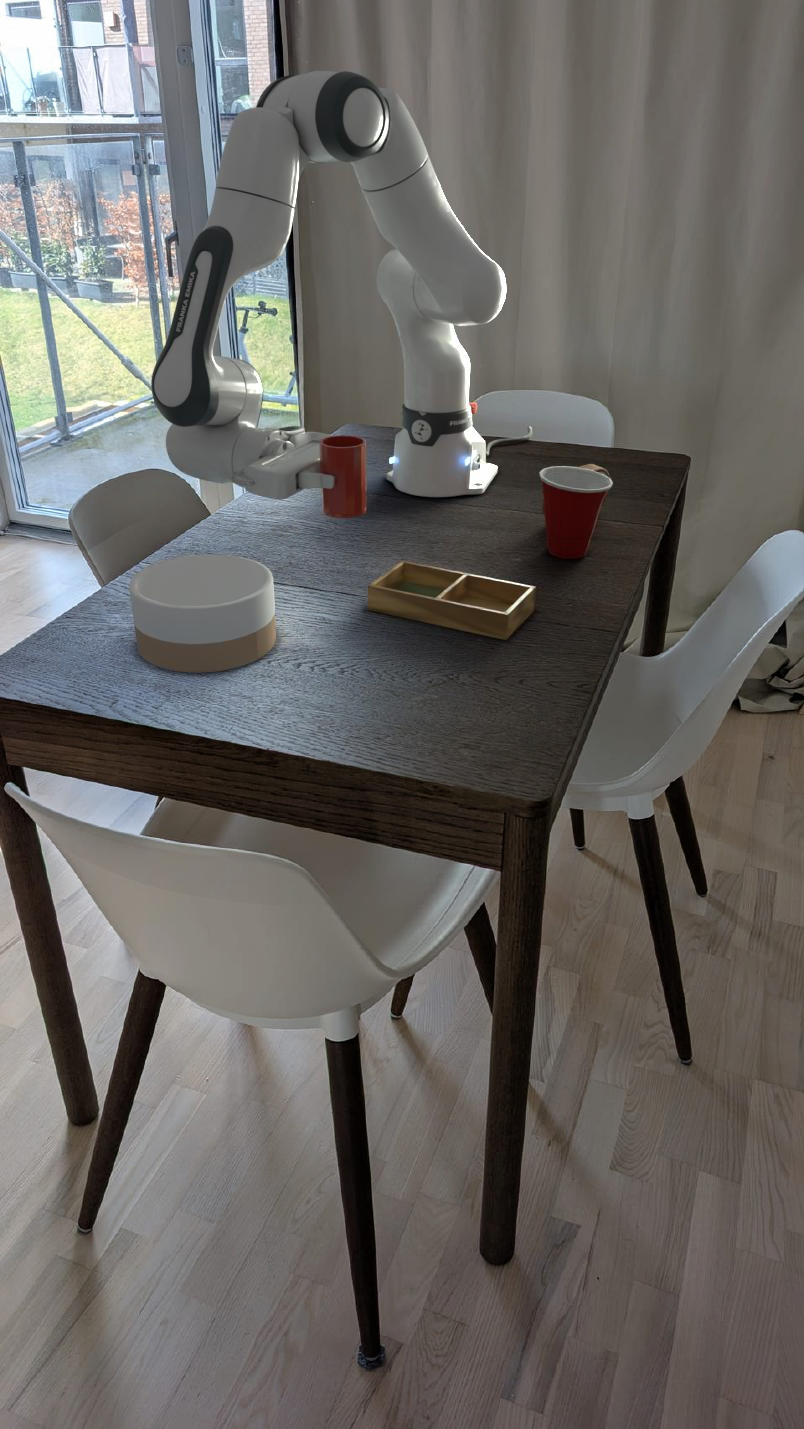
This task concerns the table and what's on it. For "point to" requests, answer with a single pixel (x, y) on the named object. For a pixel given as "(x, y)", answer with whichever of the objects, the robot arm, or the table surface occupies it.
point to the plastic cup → (572, 508)
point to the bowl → (203, 612)
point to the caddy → (452, 599)
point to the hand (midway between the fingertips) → (349, 474)
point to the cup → (344, 476)
